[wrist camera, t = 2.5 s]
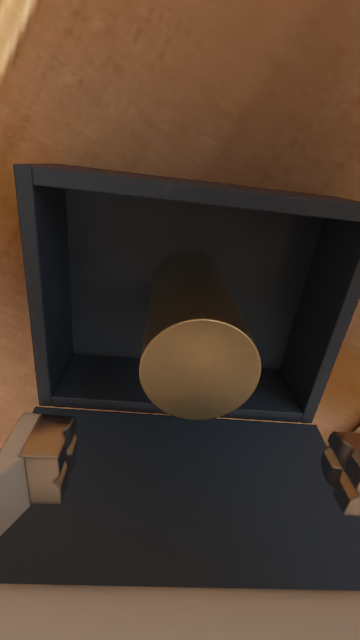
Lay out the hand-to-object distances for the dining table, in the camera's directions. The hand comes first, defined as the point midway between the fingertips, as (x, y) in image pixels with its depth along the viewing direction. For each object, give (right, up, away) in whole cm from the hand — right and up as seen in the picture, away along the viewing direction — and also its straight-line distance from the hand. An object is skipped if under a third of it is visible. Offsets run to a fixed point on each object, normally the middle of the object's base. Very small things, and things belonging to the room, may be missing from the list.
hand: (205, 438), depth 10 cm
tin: (0, +6, +12) cm, 13 cm away
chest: (0, +6, +12) cm, 14 cm away
